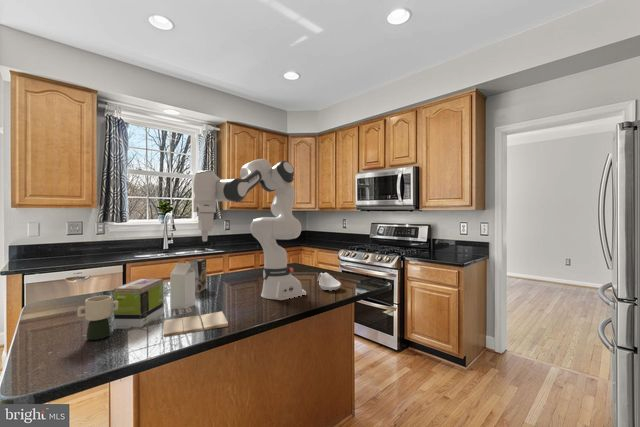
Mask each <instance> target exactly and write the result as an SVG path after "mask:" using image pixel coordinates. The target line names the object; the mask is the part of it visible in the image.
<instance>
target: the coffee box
mask: <svg viewBox="0 0 640 427" xmlns="http://www.w3.org/2000/svg"><path fill="white" fill-rule="evenodd" d="M187 264H190V266H191V267H192V268H193V270H194V271H195V294H197V293H201V292H203V291H205V289H207V258H194V259H191V260H188V262H187Z"/></svg>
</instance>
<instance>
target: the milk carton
mask: <svg viewBox="0 0 640 427" xmlns="http://www.w3.org/2000/svg"><path fill="white" fill-rule="evenodd" d="M169 278H170V279H169V281H170V289H169V292H170V294H169V296H170V297H169V298H170V300H169V301H170V302H169V307H170V308H169V309H171V310H179V309H187V308H191V307H193V306H195V305H196V293H195V271H194V270H193V268H192V267H191V266H190V264H188V263H182V262H181V263H180V262H176V263H175V266H174V268H173V269H172V271H171V272H170V276H169Z"/></svg>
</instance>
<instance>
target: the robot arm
mask: <svg viewBox="0 0 640 427" xmlns="http://www.w3.org/2000/svg"><path fill="white" fill-rule="evenodd" d="M239 176H240V178H231V179H230V178H229V179H222V178H220V177H219V176H218V175H217V174H216V173H215V170H198V171H197V172H196V173H195V174H194V177H193V178H194V179H193V193H194V197H193V198H194V199H193V213H196V217H198V221H197V222H198V223H197V228H198V229H199V230H200V231H201V240H202V241H203V242H207V241H208V235H209V232H212V231H213V227H214V216H215V215H214V214H215V213H217V202H233V203H234V202H237V203H238V202H242V201H243V200H244V199H245V198H246V197H247V194H248V193H249V192H250V191H251V190H252V189H254V188H255V187H256V186H258V184H260V186H261V188H262V189H263V190H264V191H266V192H268V193H271V192H274V191H275V193H274V196H273V200H272V203H271V205H270V212H271V213H272V215H273V216H272V217H271V216H261V217H257V218H254V219H253V220H252V222H251V223H250V228H249V229H250V230H249V231H250V233H251V235H252V236H253V238H255V239H256V240H257V241H258V242H259V244H260V246H261V247H262V250H263V251H262V252H263V260H264V261H263V262H264V265H263V266H264V267H263V273H262V276H263V285H262V291H261V294H260V296H261V298H263V299H267V300H268V299H269V300H277V301H284V300H290V299H294V297H295V298H299V297H298V296H300V297H303V296H302V295H305V296H307V292H306V290H304V288H302V283H301V281H300V280H299V279H297V277H295V276H293V275H292V274H291V273H293V272H294V271H295V270H294V268H293V267H289V266H288V264H287V263H288V257H287V256H288V254H287V250H286V249H285V248H284V247H282V246H281V245H279V244H278V243H277V240H293V239H297V238H298V237H299V236H300V235H301V232H302V224H301V222H300V220H299V219H298V218H296V217H295V216H294V215H293V208H294V204H295V198H296V197H295V196H296V194H295V193H296V191H295V190H296V189H295V187H294V186H293V185H292V184H291V183H293V182H294V176H295V169H294V167H293V165H292V164H291V163H290V162H289V161H287V160H281V161H279V162H278V163H276V164H275V165H274V166H272V165H271V163H270V162H269V160H268V159H265V158H258V159H254V160H252V161H249V162H247V163H245V164H244V165H242V167H241V168H240V170H239ZM289 298H290V299H289Z"/></svg>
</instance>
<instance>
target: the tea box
mask: <svg viewBox="0 0 640 427" xmlns="http://www.w3.org/2000/svg"><path fill="white" fill-rule="evenodd" d="M164 297H165V296H164V279H163V278H138V279H136V280H132V281H131V282H128V283H125V284H122V285H120V286H117V287H114V288H113V301H118V310H115V311H113V315H114V318H113V320H114V323H113V324H114V329H117V330H118V329H119V330H130V329H131V328H142V327H143V326H144V327H145V325H147V324H149V323H150V322H153V321H154V320H155V319H157V318H159V317H160V316H162V315H164V313H165V306H164V300H165V299H164ZM113 308H115V304H113Z"/></svg>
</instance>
